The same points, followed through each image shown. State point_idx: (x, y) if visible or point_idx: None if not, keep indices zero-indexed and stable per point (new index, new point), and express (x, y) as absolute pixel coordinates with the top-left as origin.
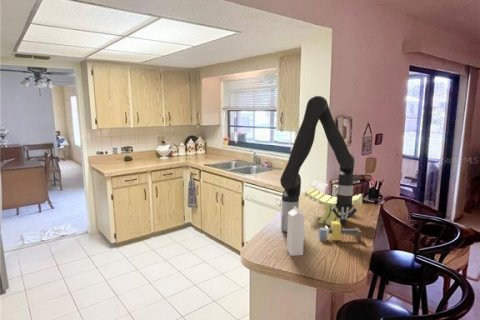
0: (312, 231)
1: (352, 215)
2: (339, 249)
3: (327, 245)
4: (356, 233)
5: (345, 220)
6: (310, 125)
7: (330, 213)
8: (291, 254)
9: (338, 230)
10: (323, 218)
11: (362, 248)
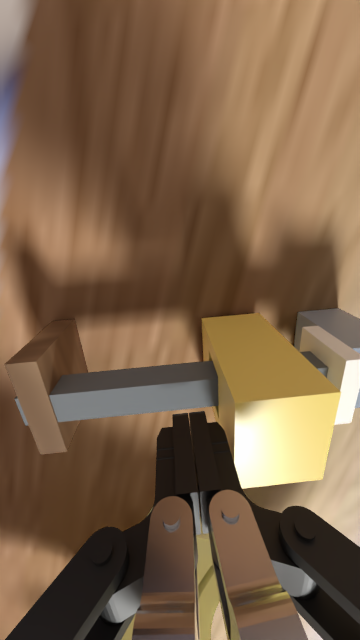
0: None
1: (23, 618)
2: (247, 156)
3: (317, 229)
4: (65, 375)
5: (169, 484)
6: None
7: None
8: None
9: (241, 355)
10: None
11: (51, 202)
